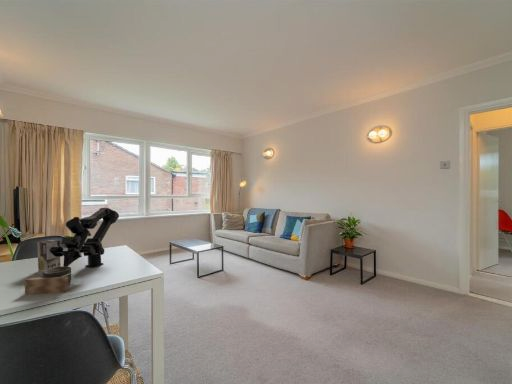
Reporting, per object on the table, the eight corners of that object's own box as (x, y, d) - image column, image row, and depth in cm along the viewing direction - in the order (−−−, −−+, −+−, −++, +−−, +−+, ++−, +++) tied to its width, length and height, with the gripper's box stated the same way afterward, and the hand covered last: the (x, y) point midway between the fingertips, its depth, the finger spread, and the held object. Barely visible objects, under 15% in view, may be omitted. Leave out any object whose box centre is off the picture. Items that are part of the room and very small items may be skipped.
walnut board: (25, 293, 100) (24, 279, 100) (29, 291, 102) (28, 278, 102) (65, 292, 102) (65, 278, 102) (68, 290, 104) (68, 276, 104)
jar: (74, 285, 109) (74, 268, 109) (46, 293, 101) (45, 275, 101) (67, 280, 115) (67, 264, 115) (40, 287, 107) (39, 270, 107)
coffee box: (61, 269, 129) (60, 240, 129) (46, 273, 124) (46, 243, 123) (52, 267, 133) (51, 239, 133) (37, 271, 127) (36, 241, 127)
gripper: (51, 230, 117) (33, 259, 106) (91, 229, 118) (77, 258, 108) (63, 242, 125) (47, 270, 114) (100, 241, 126) (88, 269, 116)
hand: (64, 266), depth 113 cm, fingers closed, pressing on jar
